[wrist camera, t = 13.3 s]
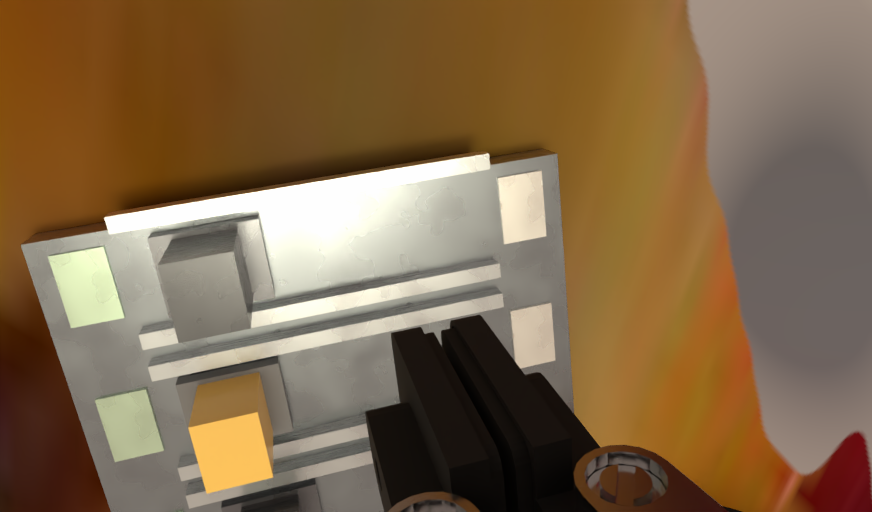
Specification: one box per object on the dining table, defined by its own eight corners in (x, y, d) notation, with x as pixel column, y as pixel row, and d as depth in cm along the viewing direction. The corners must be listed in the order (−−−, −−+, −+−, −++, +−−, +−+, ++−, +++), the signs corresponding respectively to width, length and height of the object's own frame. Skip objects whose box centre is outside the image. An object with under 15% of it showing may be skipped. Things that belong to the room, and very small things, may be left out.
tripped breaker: (177, 377, 33) (163, 428, 29) (278, 356, 34) (279, 402, 30) (196, 445, 35) (185, 503, 30) (292, 423, 35) (295, 476, 31)
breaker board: (29, 217, 32) (-32, 259, 25) (541, 134, 36) (599, 151, 30) (147, 575, 38) (123, 680, 32) (565, 465, 43) (616, 537, 37)
